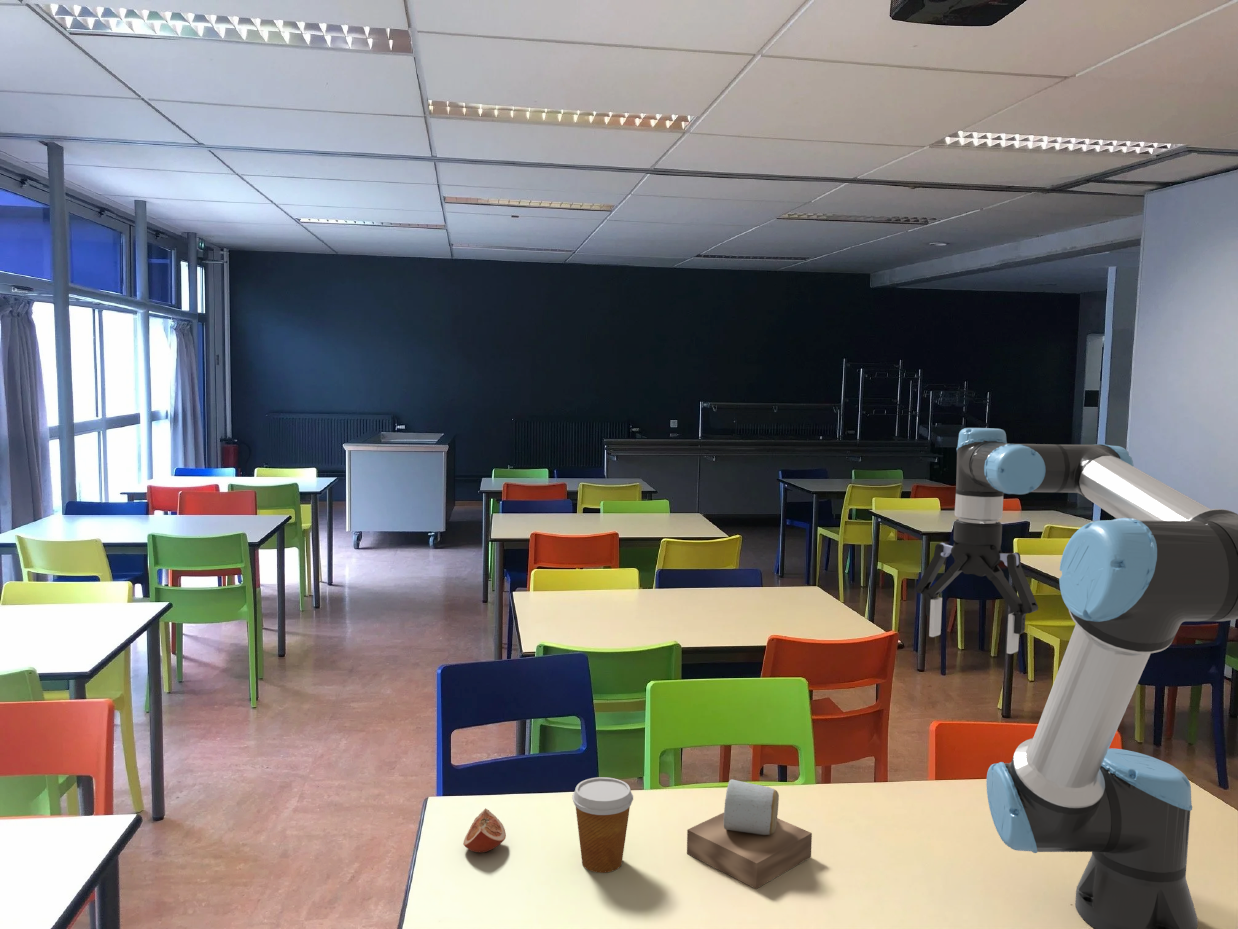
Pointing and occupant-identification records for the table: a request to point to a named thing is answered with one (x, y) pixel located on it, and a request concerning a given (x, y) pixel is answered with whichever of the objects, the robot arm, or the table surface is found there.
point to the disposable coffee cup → (602, 821)
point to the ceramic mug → (750, 808)
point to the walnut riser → (749, 850)
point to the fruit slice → (485, 833)
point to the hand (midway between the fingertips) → (972, 643)
